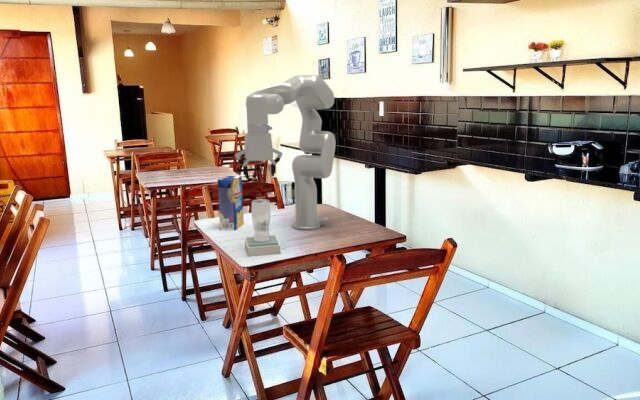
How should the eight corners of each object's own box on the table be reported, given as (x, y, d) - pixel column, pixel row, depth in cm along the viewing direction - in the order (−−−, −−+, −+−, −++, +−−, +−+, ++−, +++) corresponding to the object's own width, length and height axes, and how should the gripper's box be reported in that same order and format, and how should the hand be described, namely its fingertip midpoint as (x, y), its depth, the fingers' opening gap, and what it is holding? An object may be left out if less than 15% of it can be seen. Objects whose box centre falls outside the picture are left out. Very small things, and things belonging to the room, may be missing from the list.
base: (275, 244, 206) (275, 234, 205) (280, 253, 194) (280, 243, 193) (245, 246, 203) (244, 236, 202) (247, 256, 192) (247, 245, 191)
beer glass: (263, 243, 193) (262, 203, 190) (248, 240, 197) (247, 201, 194) (274, 239, 199) (273, 200, 196) (260, 236, 203) (259, 198, 199)
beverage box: (243, 224, 238) (241, 176, 233) (235, 230, 227) (232, 180, 222) (229, 223, 239) (227, 175, 234) (220, 229, 228) (217, 179, 224)
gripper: (279, 128, 195) (281, 173, 199) (233, 129, 192) (235, 175, 195) (283, 129, 188) (284, 176, 192) (234, 131, 184) (236, 179, 188)
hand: (259, 176), depth 194 cm, fingers open, 9 cm apart
